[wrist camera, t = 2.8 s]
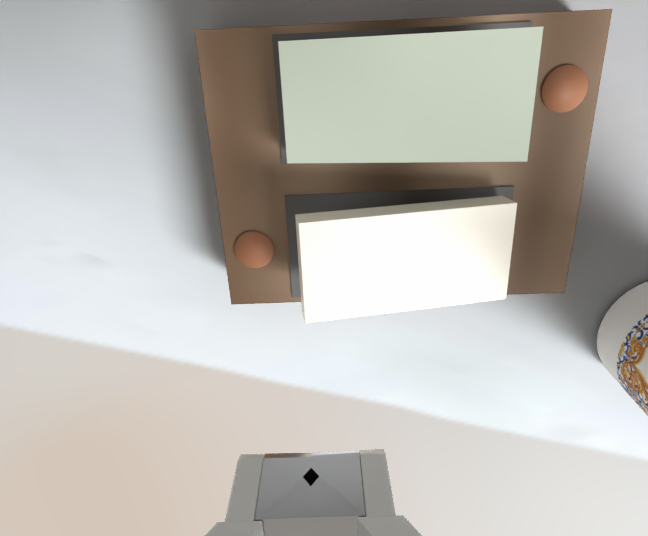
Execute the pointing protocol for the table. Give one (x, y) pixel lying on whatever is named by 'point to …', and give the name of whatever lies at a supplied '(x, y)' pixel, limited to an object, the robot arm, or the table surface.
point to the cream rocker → (404, 257)
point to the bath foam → (627, 343)
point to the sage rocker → (411, 97)
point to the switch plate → (393, 178)
